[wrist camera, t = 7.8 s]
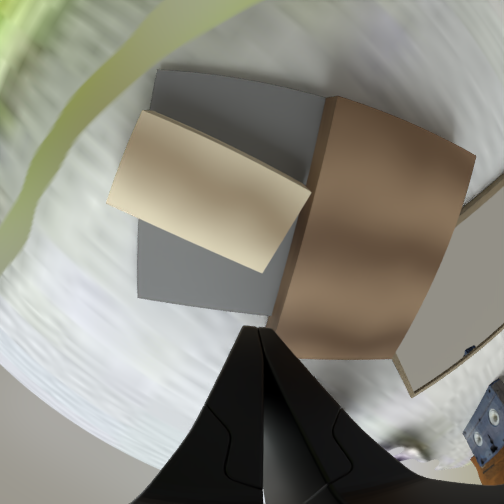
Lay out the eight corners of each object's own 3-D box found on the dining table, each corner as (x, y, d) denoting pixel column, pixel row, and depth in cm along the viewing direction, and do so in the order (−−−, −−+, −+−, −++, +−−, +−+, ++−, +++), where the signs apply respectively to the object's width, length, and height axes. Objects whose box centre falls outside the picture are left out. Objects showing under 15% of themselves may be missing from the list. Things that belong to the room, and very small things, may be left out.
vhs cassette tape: (471, 427, 39) (489, 461, 30) (460, 433, 39) (477, 469, 30) (501, 375, 31) (529, 417, 22) (489, 383, 31) (517, 427, 22)
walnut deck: (380, 338, 22) (391, 358, 20) (264, 332, 21) (267, 356, 19) (452, 149, 16) (476, 155, 14) (322, 98, 14) (337, 95, 12)
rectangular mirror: (550, 123, 15) (350, 283, 20) (557, 125, 14) (355, 290, 19) (558, 259, 22) (408, 392, 28) (563, 263, 21) (411, 398, 27)
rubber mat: (270, 310, 20) (271, 316, 20) (139, 292, 19) (137, 297, 18) (322, 98, 14) (326, 97, 14) (159, 71, 13) (157, 69, 13)
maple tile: (259, 256, 18) (262, 273, 16) (119, 193, 15) (105, 203, 14) (302, 183, 16) (311, 192, 14) (153, 110, 14) (142, 110, 12)
